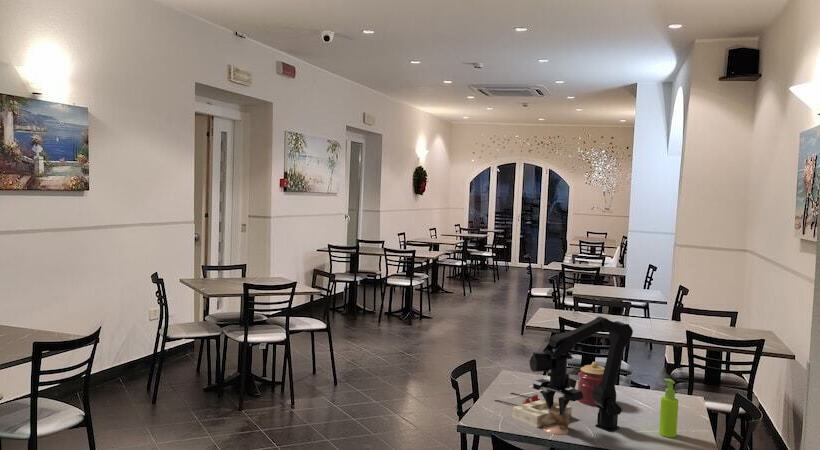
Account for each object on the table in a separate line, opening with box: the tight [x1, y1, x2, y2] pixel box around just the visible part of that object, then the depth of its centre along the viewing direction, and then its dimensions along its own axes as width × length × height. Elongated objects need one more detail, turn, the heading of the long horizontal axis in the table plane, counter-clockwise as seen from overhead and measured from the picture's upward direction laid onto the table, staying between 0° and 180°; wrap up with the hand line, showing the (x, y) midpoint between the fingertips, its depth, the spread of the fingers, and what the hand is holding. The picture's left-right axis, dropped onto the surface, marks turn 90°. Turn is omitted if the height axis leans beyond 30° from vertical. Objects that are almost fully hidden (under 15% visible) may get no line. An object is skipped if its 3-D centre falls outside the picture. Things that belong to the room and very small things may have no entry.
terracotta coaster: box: [542, 423, 569, 436], centre depth 232 cm, size 9×9×1 cm
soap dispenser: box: [658, 378, 679, 438], centre depth 233 cm, size 6×7×20 cm
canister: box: [577, 361, 605, 408], centre depth 266 cm, size 13×13×18 cm
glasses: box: [493, 392, 541, 407], centre depth 262 cm, size 14×16×5 cm
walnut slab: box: [548, 406, 571, 428], centre depth 233 cm, size 8×4×2 cm
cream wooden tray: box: [512, 398, 573, 428], centre depth 244 cm, size 20×12×5 cm, turn 128°
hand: (556, 413), depth 232 cm, fingers closed on walnut slab, 4 cm apart
